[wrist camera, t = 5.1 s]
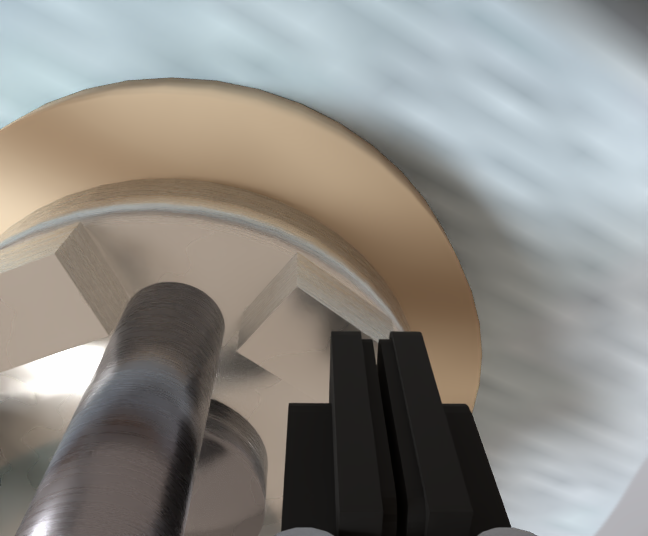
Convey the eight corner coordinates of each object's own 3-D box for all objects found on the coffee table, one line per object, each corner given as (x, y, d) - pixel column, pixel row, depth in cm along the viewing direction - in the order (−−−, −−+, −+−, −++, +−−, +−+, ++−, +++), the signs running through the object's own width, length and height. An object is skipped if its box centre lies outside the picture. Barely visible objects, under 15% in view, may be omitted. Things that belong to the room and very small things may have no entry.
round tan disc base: (-44, -41, 14) (-109, -38, 12) (572, 217, 18) (611, 256, 16) (-104, 460, 22) (-151, 519, 20) (337, 566, 26) (341, 626, 24)
